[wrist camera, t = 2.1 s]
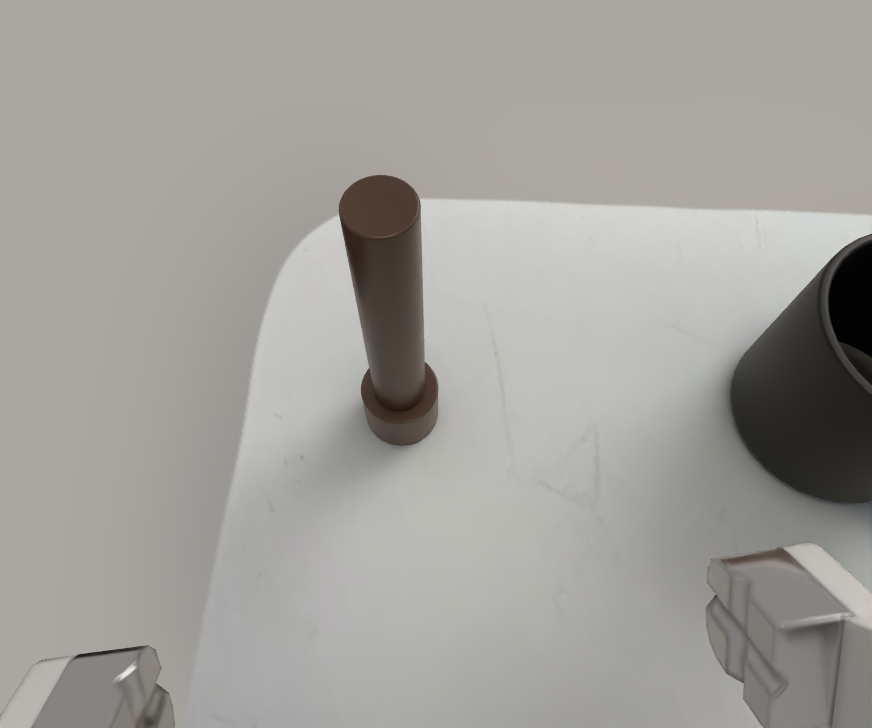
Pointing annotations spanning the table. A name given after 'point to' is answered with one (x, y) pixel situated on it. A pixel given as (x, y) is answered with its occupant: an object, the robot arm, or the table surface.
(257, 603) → the table surface
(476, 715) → the table surface
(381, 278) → the rod
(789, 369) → the mug
